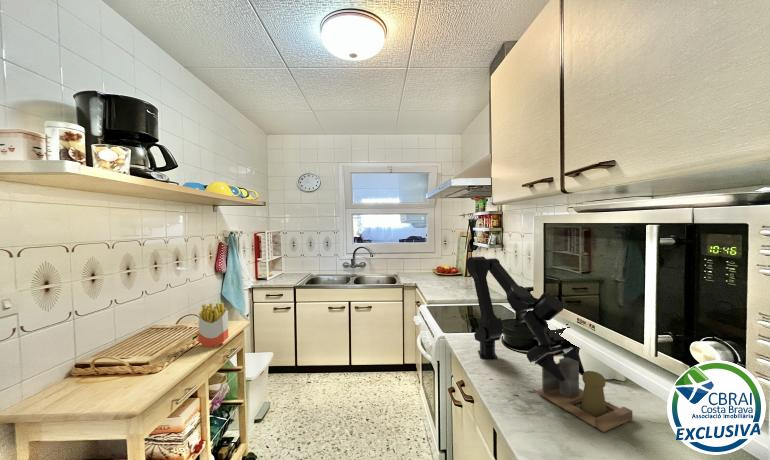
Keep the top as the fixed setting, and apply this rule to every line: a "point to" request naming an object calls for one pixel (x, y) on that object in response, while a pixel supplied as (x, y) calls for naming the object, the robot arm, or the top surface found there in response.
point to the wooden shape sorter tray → (578, 396)
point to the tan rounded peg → (593, 394)
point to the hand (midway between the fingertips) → (573, 377)
